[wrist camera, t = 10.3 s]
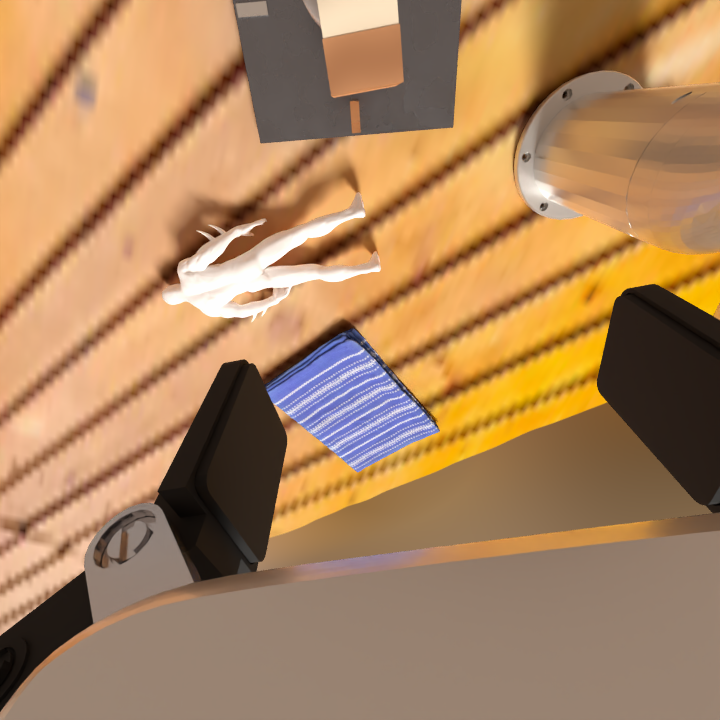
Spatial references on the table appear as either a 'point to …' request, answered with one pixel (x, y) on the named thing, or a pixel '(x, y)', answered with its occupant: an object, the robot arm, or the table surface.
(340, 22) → the beige curved block
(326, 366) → the dish towel
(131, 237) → the table surface
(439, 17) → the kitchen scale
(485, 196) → the table surface
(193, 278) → the superhero figure
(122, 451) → the table surface
